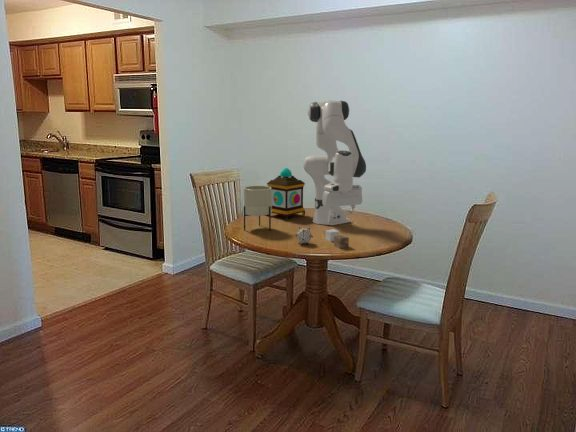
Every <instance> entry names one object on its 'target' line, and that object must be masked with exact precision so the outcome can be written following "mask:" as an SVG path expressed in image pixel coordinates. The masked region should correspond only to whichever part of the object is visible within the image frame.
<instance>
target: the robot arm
mask: <svg viewBox="0 0 576 432" xmlns="http://www.w3.org/2000/svg"><path fill="white" fill-rule="evenodd" d="M307 115H308V119H309V120H310V121H311V122H314V123H316V124H315V125H316V127H315V134H316V135H315V138H316V139H315V141H316V142H315V144H316V146H317V148H319V149H320V150H321V151H324V152H325V153H326V155H325V154H324V155H321V154H320V155H317V154H315V155H309V156H306V157H305V158H304V161H303V170H304V171H305V173H306V174H308V175H309V176H310V177H311V178H312V180H313V183H314V187H315V189H314V190H315V197H314V213H313V214H314V215H313V218H312V222H313V224H316V225H317V224H318V225H326V226H328V225H329V226H337V225H341V224H346V223H351V219H350V218H348V217H347V215H353V214H354V211H355V208H356V206H357V205H362V203H363V193H362V191H363V188H362V187H361V185H359V184H357V185H355V184H353V182H354V181H353V180H354V179H353V178H361V177H362V176H363V175H364V174H365V173H366V171H367V163H366V160H365V159H364V156H363V155H362V152H361V150H360V147H359V143H358V141H357V138H356V136H355V133H354V131H353V130H352V129H351V128H349V126H347V124H346V122H345V121H346V120H347V119H348V118H349V115H350V107H349V103H348V102H347V101H345V100H327V101H326V100H324V101H314V102H311V103H310V104H309V106H308V109H307ZM337 142H340V143H343V144H344V145H346V147H348V150H339V149H338V146H337ZM326 175H327V176H331V177H334V178H333V181H330V180H328V179H326V177H325V176H326ZM346 206H350V209H349V210H348V213H347V212H346V210H345V209H344V208H342V207H346Z"/></svg>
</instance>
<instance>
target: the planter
mask: <svg viewBox="0 0 576 432" xmlns="http://www.w3.org/2000/svg"><path fill="white" fill-rule="evenodd" d="M268 214H269V215H268ZM271 214H273V213H272V188H271V187H269V186H268V185H251V186H250V185H247V186H245V187H243V231H246V217H249V216H254V217H256V216H257V217H258V225H259V226H261V217H262V216H263V217H268V223H269V224H268V225H269V226H268V231H269V232H271V230H272V229H271V228H272V227H271V225H272V223H271V221H272V219H271V216H272V215H271Z"/></svg>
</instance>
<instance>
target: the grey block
mask: <svg viewBox="0 0 576 432" xmlns="http://www.w3.org/2000/svg"><path fill="white" fill-rule="evenodd" d="M334 236H340V231H339V230H337V229H334V228H333V229H325V240H326V241H327V242H330V243H331V242H333V243H334Z"/></svg>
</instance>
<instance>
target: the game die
mask: <svg viewBox="0 0 576 432" xmlns="http://www.w3.org/2000/svg"><path fill="white" fill-rule="evenodd" d="M310 229H311V227H308V228H301V227H300V226H299V230H298V231H297V233H296V238H297V241H298V245H299V244H307V245H310V241H311V238H314V236H313V235H312V233H311V230H310Z"/></svg>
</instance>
